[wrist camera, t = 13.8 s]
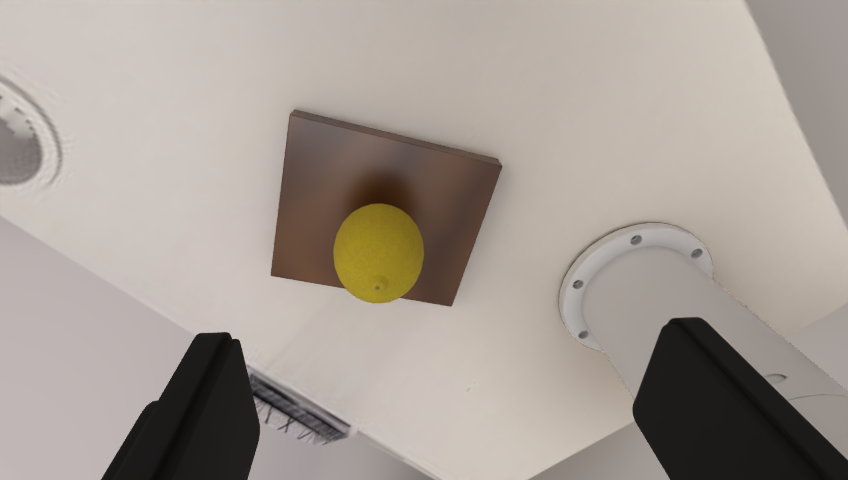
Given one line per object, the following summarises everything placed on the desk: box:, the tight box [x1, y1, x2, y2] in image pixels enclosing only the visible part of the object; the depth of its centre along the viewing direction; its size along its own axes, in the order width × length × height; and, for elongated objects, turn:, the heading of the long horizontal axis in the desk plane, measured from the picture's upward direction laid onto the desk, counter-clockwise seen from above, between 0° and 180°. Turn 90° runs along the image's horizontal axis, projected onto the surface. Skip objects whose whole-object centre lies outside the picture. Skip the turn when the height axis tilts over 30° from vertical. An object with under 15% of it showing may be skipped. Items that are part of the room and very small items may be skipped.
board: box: [271, 110, 502, 306], centre depth 31 cm, size 14×12×2 cm
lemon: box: [333, 204, 424, 303], centre depth 26 cm, size 6×6×8 cm
